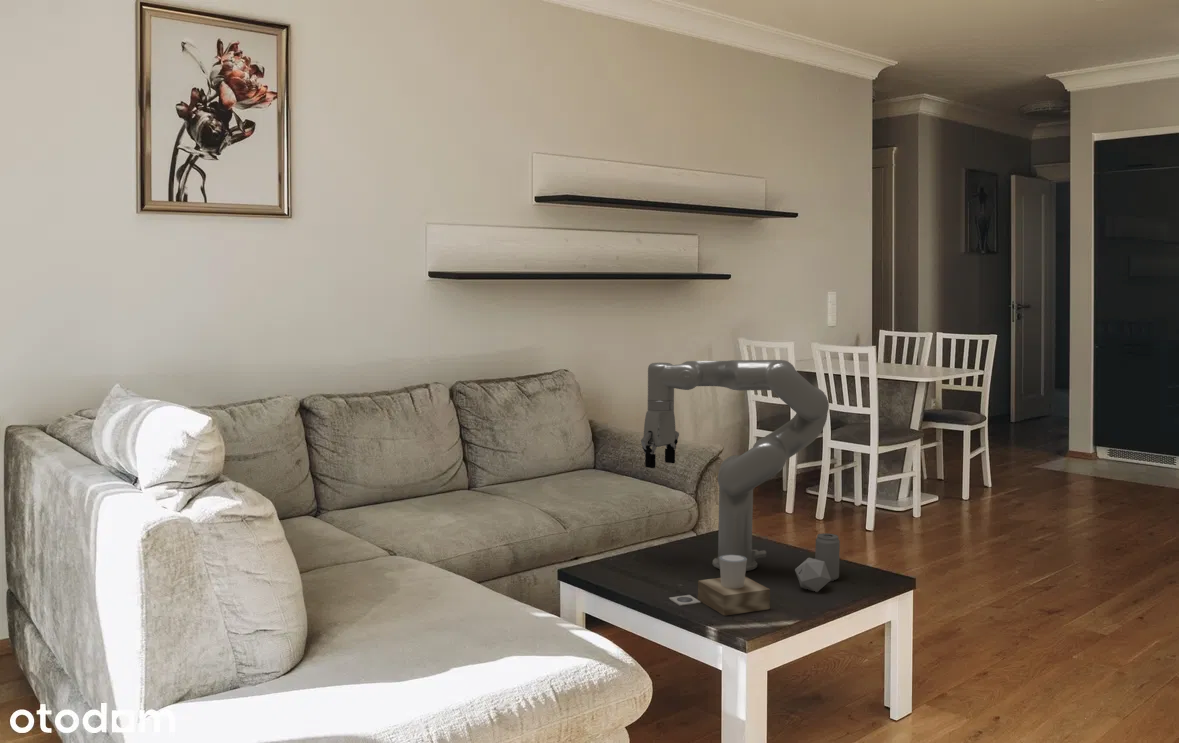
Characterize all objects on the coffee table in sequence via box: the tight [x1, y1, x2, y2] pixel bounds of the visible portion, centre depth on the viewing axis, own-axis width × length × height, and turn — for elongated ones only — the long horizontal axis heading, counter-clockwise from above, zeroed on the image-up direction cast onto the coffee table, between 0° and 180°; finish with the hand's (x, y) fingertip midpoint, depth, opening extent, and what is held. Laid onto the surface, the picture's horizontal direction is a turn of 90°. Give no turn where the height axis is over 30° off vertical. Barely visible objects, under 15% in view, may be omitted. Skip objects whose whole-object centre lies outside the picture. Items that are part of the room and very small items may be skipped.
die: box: [794, 557, 831, 593], centre depth 257 cm, size 8×9×10 cm
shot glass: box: [719, 555, 747, 589], centre depth 244 cm, size 7×7×7 cm
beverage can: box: [814, 532, 841, 582], centre depth 266 cm, size 6×6×12 cm
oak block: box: [697, 576, 771, 617], centre depth 244 cm, size 13×13×5 cm
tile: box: [668, 594, 702, 607], centre depth 247 cm, size 6×6×1 cm
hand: (660, 465), depth 280 cm, fingers open, 9 cm apart
